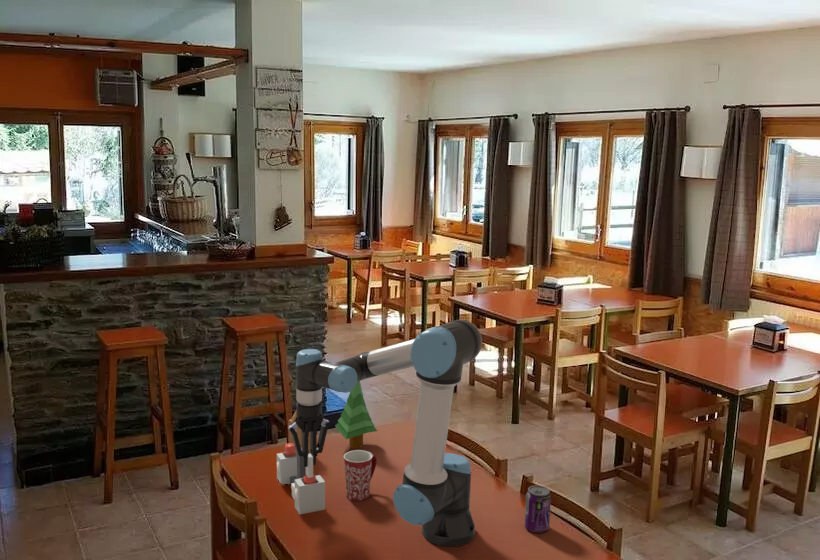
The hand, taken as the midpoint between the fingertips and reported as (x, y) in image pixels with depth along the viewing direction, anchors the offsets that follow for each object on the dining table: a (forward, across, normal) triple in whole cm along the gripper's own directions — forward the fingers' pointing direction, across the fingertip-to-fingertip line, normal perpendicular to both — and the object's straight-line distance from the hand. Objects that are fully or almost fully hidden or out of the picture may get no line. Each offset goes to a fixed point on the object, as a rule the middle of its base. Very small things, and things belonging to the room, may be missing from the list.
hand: (309, 475), depth 221 cm
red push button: (+1, 0, -20) cm, 20 cm away
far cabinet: (+11, 0, -20) cm, 23 cm away
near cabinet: (+11, 0, 0) cm, 11 cm away
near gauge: (+3, 0, 0) cm, 3 cm away
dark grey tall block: (+11, 0, -7) cm, 12 cm away
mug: (+11, -18, -2) cm, 21 cm away
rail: (+11, 0, -10) cm, 15 cm away
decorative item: (+11, -9, -38) cm, 41 cm away
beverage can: (+11, -57, +38) cm, 69 cm away
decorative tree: (+11, -30, -38) cm, 50 cm away
